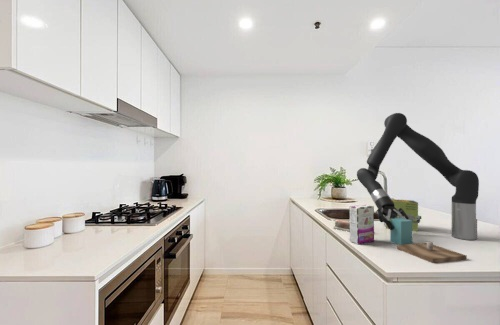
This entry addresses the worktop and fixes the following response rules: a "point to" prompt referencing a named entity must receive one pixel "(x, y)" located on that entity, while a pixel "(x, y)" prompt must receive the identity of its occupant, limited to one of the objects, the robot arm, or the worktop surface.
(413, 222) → the mechanical component
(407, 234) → the teal rectangular block
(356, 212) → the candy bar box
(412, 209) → the protein box
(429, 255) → the plate
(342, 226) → the packaged product
